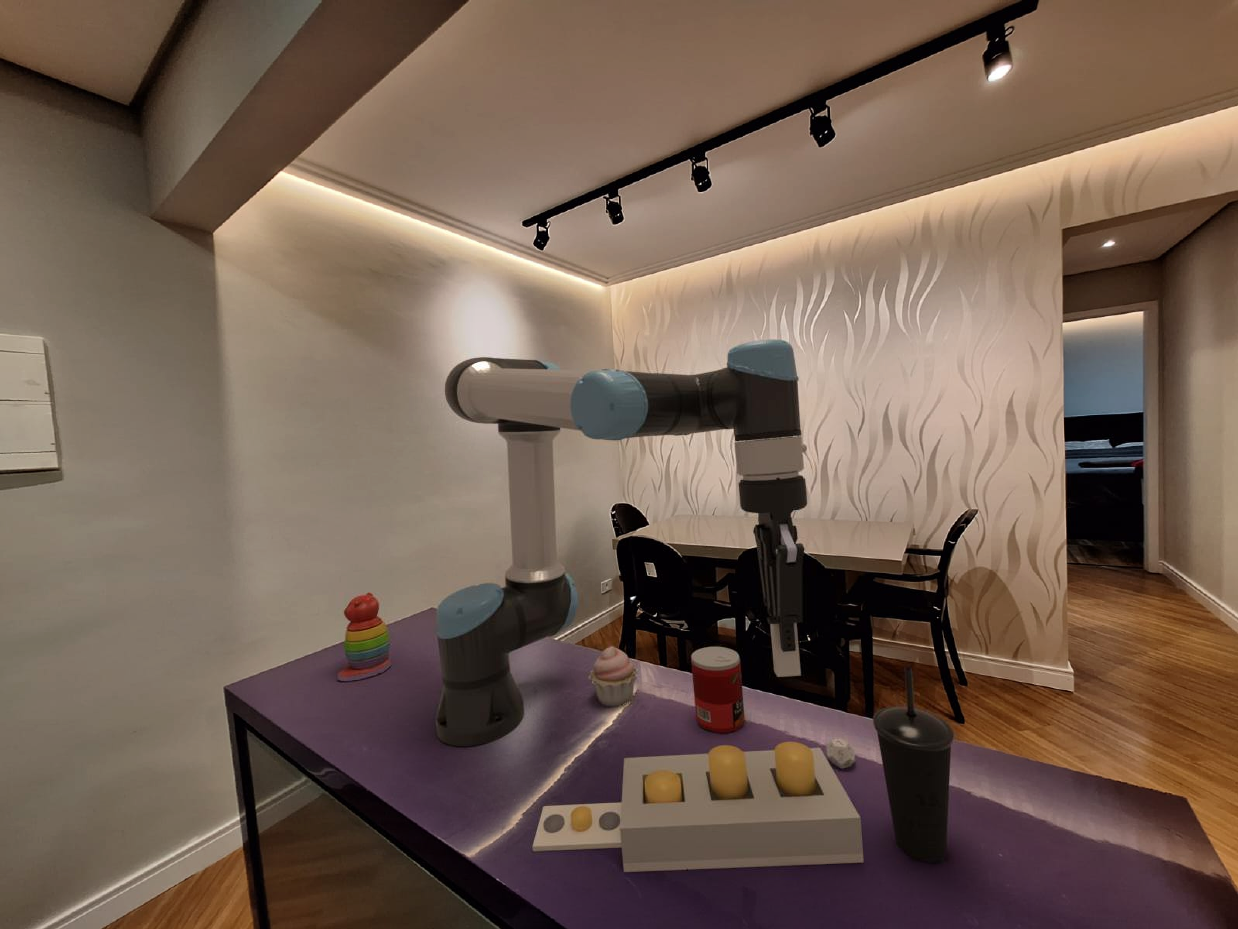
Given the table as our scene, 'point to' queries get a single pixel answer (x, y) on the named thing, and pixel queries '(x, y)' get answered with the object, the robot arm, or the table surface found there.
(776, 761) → the button right
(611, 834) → the pattern card
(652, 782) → the button left
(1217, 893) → the table surface
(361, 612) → the stacking bear
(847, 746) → the game die
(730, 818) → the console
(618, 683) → the cupcake
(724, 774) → the button mid
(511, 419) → the robot arm
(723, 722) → the canned food
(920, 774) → the drinking cup
